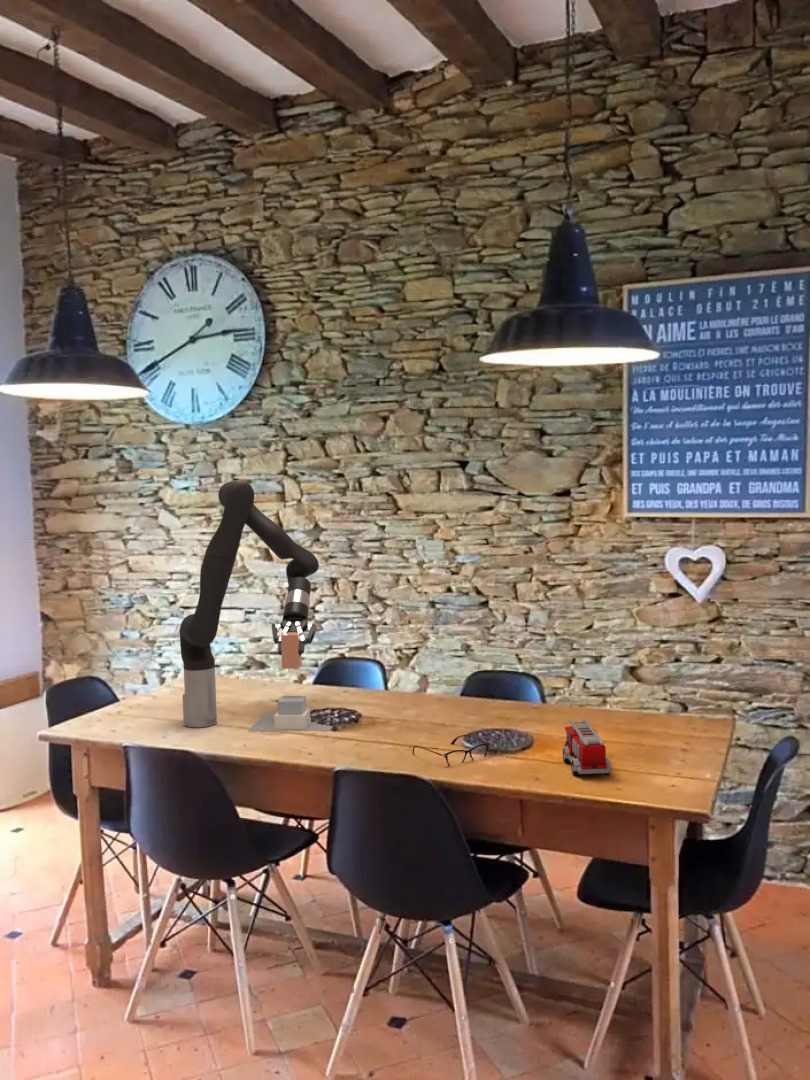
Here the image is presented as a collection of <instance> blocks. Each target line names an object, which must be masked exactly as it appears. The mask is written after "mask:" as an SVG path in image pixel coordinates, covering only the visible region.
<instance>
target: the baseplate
mask: <svg viewBox="0 0 810 1080" xmlns="http://www.w3.org/2000/svg"><path fill="white" fill-rule="evenodd" d="M277 712H278V711H266V712H265V711H264V712H263V714H262V715H261V716H260V717H259V718H258V719H257V720H256V721H255V723H254V724H252V726H251V727H250V728H249V729H248V730H247V732H330V731H332V728H333V726H334V725H333V726H326V725H321V724H317V723H314V722H310V723H309V725H308V726H307V728H306V729H287V730H275V728H274V715H275V714H276V713H277Z"/></svg>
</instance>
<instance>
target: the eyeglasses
mask: <svg viewBox="0 0 810 1080" xmlns="http://www.w3.org/2000/svg"><path fill="white" fill-rule="evenodd" d="M462 737H468V738H469V737H470V738H471V739H474V740H477V741H479V742H481V743H482V744H478V745H476V746H473V747H471V748H470V749H467V750H465V749H457V750H456V749H455V750H452V751H449V752H446V753H444V754H441V753H439V752H437V751H433V750H430V749H428V748H425V747H422V746H418V745H414V746H413V747H412V755H414V754H415V748H419V749H420V748H421V749H423V750H425V751H429V752H431V753H433V754H435V755H438V756H441V757H443V758H445V761H446V764H447V765H448V766H452V765H451V764H450V763H449V759H448V756H449V755H450V754H453V753H456V752H464V755H463V759H462V761H461V764H463V763H464V762H465V760H466V757H467V756H468V757H469V758H471V760H472V761H475V759H474V758H473V756H472V751H473V750H475V749H477V748H480V747H482V746H483V747H484V746H486V750H485V752H484V755H483V758H485V757H486V756H487V754H488V750H489V748H490V746H491V743H488V742H485V741H483V740H481V739H478V738H476V737H473V736H471V735H469V734H468V735H466V734H463V735H458V736H457V737H455V738H454V739H453V740H452V741H451V742H450V745H455V743H456V742H457V740H458V739H460V738H462ZM467 754H468V755H467Z"/></svg>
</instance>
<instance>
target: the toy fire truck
mask: <svg viewBox="0 0 810 1080" xmlns="http://www.w3.org/2000/svg"><path fill="white" fill-rule="evenodd" d="M568 723H570V726H565V727H564V730H565V732H566V733H565V734H566V735H565V736H566V740H565V742H564V743H565V744H564V746H563V749H562V760H563V762H564V764H569V763H571V775H572V776H579V775H585V774H587V775H589V774H604V775H610V774H611V771H612V767H611V761H610V759H609V758H608V757H606V754H607V753H606V751H607V750H606V748H607V747H606V745H605V743H604V741H603V740H602V739H601V737H600V736H599V735H598V732H597V730H595V728H594V727H593V726H592V725H591V724H590V722H589V721H588V720H587V718H582V721H574V720H573V719H572V718H568Z"/></svg>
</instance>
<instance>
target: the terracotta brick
mask: <svg viewBox="0 0 810 1080" xmlns="http://www.w3.org/2000/svg"><path fill="white" fill-rule="evenodd" d="M281 634H282V633H281ZM281 634H280V636H281V652H282V655H281V669H282V670H283V669H284V670H285V669H286V670H298V669H300V668H301V667H302V666H303V665H302V663H303V662H302V661H303V659H302V655H299V653H298V650H299V642H300V633H298V632H287V633H283V634H282V635H281Z"/></svg>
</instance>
